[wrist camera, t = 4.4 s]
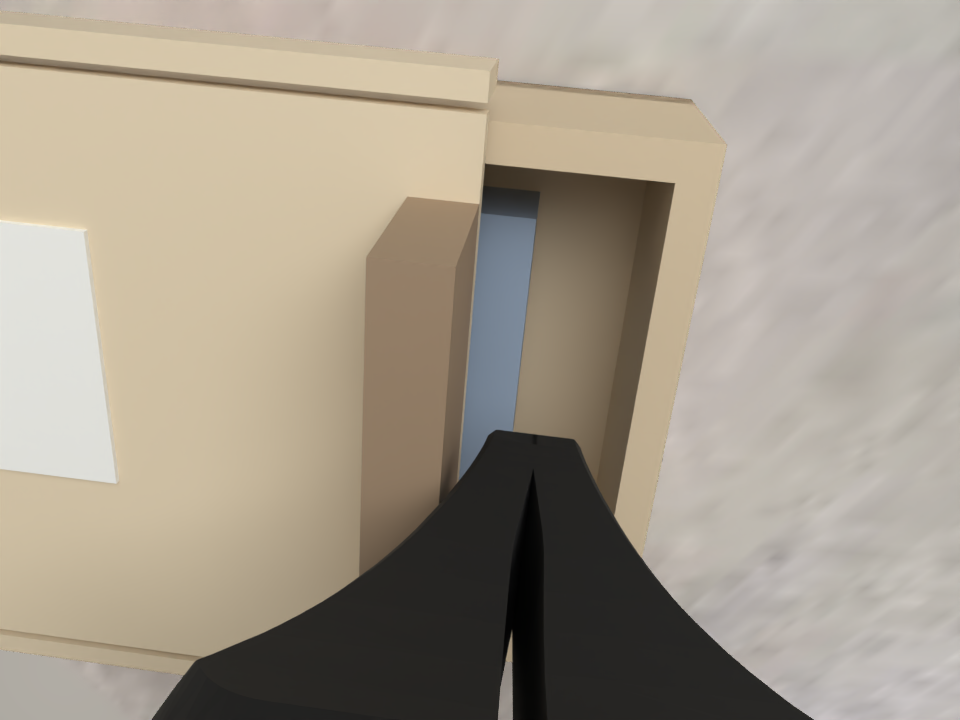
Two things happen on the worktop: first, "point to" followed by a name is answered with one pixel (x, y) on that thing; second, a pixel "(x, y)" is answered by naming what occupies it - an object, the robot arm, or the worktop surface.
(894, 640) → the worktop surface
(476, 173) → the lid
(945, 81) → the worktop surface
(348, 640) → the robot arm
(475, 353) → the mailer box
